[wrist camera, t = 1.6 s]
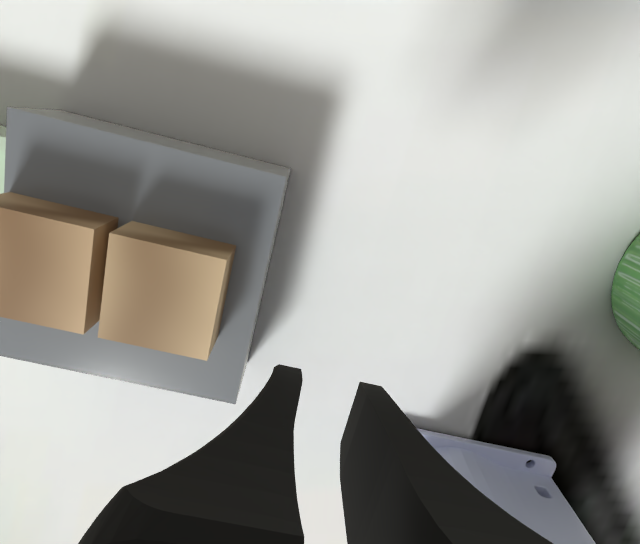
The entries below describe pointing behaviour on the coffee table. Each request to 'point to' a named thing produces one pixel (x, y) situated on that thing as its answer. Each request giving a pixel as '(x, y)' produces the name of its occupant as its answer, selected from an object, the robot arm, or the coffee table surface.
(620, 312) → the ramekin
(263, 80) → the coffee table surface
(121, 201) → the grey flat block
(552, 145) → the coffee table surface
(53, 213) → the oak tile
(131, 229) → the oak tile
